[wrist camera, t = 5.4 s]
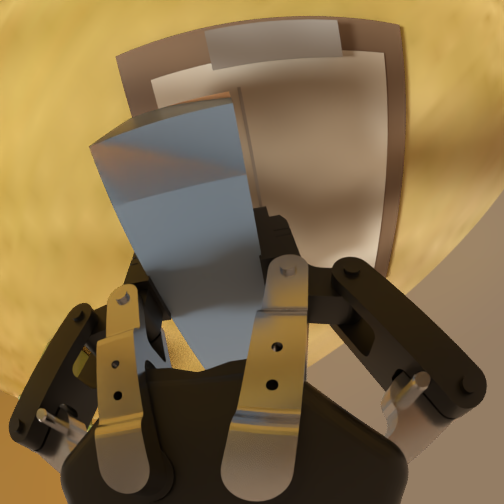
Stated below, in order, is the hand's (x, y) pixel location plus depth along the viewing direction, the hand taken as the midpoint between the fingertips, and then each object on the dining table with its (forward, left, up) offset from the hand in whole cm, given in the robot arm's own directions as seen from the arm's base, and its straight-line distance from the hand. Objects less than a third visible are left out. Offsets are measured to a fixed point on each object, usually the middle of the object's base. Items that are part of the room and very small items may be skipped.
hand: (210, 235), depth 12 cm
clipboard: (+1, +5, -4) cm, 6 cm away
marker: (+1, 0, -1) cm, 1 cm away
